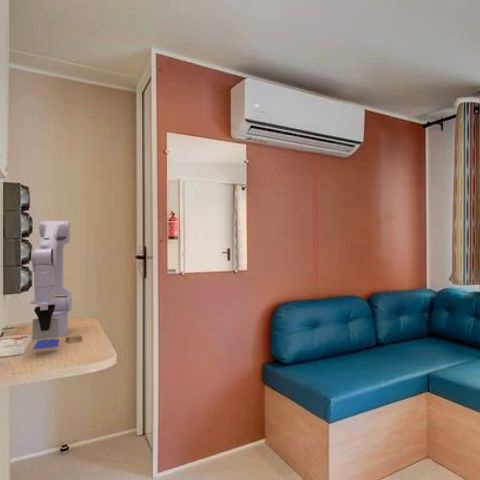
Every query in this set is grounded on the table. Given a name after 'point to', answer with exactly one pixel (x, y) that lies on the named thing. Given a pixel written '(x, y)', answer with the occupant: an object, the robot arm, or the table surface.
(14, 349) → the table surface
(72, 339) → the offcut top
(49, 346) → the hard drive
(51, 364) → the table surface
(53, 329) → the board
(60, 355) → the table surface
